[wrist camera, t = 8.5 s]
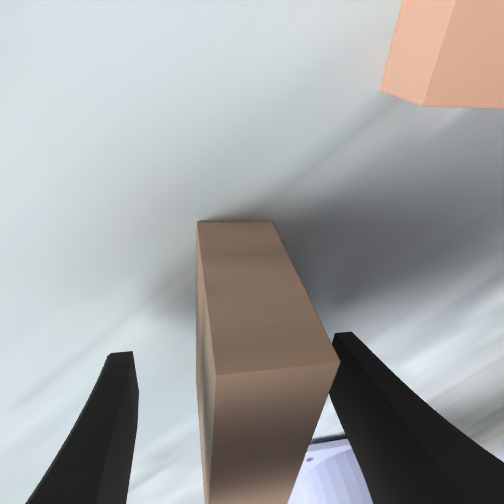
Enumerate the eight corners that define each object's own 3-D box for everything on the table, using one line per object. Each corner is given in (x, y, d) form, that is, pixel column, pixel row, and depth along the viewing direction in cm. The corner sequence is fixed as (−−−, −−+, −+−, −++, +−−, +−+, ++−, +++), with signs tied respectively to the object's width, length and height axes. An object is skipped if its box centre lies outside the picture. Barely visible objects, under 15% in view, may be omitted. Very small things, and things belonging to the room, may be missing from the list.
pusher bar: (249, 373, 16) (281, 519, 11) (196, 379, 15) (207, 535, 11) (271, 219, 11) (340, 361, 7) (196, 220, 11) (216, 375, 6)
